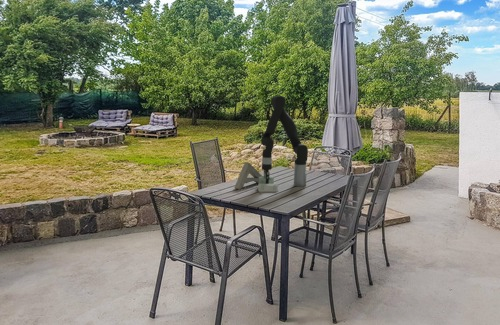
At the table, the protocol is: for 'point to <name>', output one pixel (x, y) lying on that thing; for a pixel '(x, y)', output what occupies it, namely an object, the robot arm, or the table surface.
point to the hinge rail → (268, 187)
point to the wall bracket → (244, 173)
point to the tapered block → (263, 180)
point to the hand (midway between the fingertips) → (266, 183)
